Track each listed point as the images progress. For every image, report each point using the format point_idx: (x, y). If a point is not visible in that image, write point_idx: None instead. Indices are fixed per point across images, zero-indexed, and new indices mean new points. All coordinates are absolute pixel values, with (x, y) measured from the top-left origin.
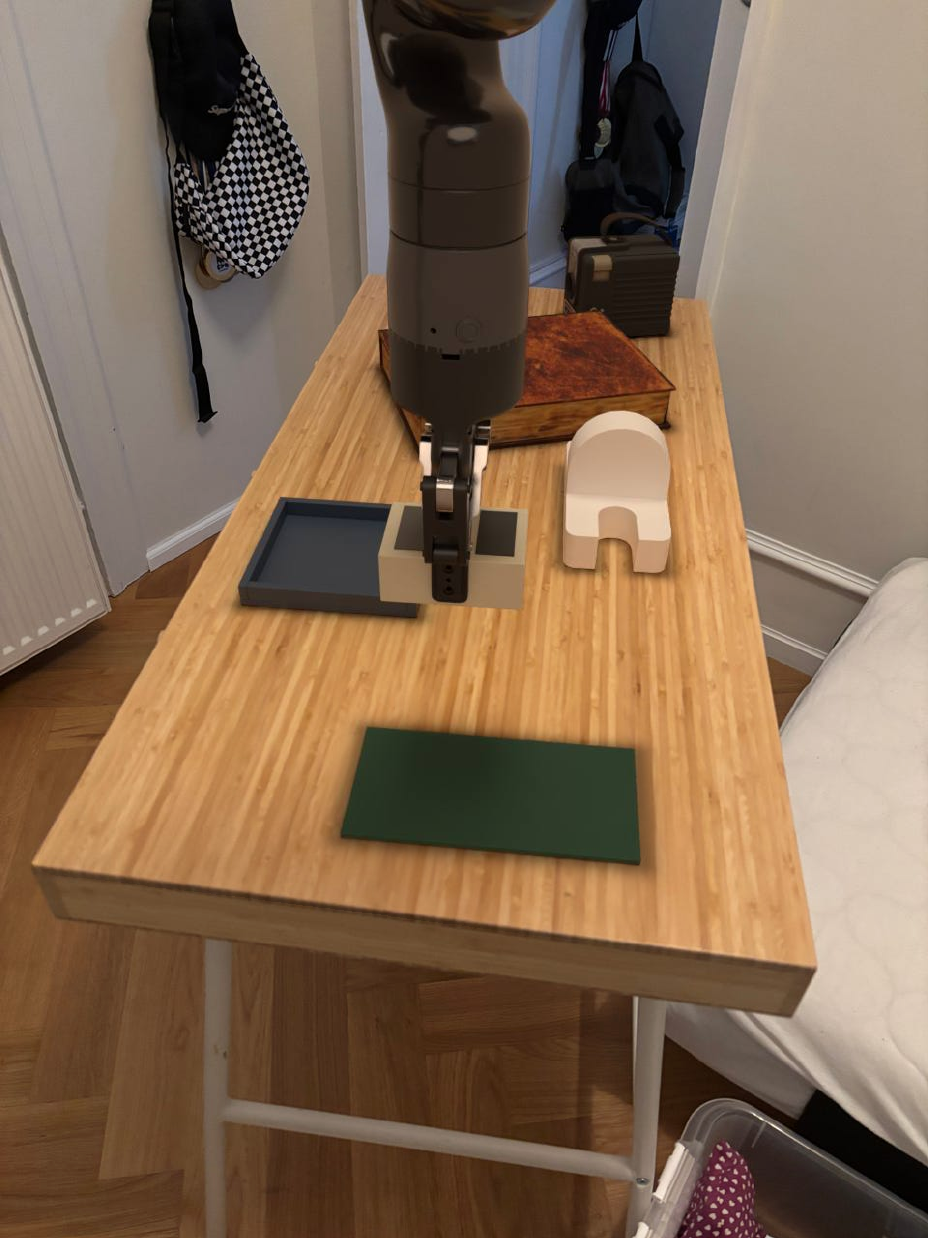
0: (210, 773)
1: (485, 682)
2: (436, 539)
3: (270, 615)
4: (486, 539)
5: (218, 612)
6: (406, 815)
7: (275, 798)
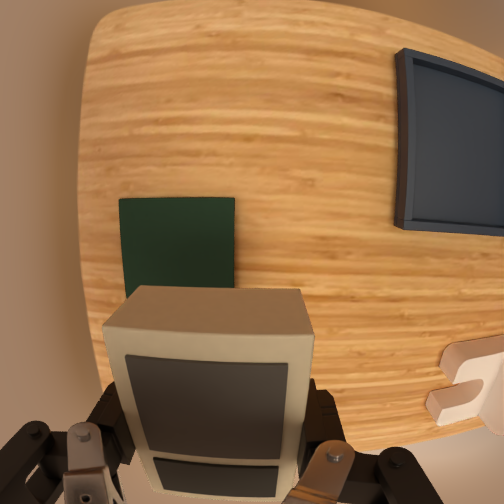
0: (172, 76)
1: (306, 296)
2: (56, 456)
3: (385, 81)
4: (190, 472)
5: (380, 36)
6: (141, 247)
7: (150, 136)
